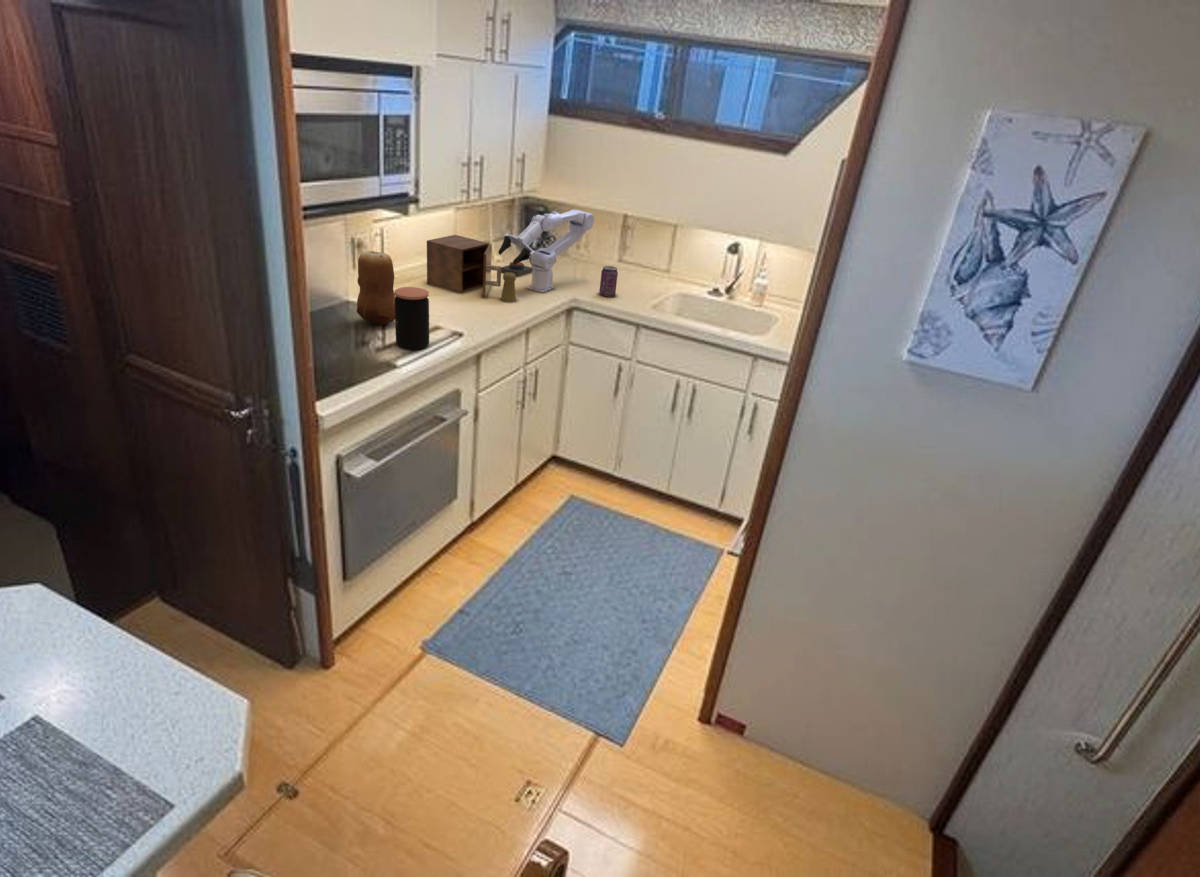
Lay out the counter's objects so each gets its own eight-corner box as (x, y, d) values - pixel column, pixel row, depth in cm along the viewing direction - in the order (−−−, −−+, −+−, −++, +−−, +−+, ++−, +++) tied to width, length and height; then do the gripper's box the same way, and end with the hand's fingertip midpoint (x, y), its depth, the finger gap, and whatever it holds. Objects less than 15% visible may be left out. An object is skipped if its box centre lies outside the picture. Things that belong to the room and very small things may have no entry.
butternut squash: (391, 315, 250) (389, 246, 239) (404, 328, 241) (402, 256, 229) (352, 319, 243) (348, 247, 231) (364, 331, 233) (360, 258, 222)
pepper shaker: (513, 302, 278) (514, 275, 273) (498, 300, 279) (500, 273, 274) (517, 298, 284) (519, 272, 278) (503, 296, 284) (504, 270, 279)
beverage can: (605, 291, 308) (608, 264, 302) (618, 295, 304) (621, 268, 299) (595, 294, 302) (598, 267, 297) (609, 298, 299) (612, 271, 293)
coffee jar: (407, 337, 234) (405, 284, 225) (435, 343, 231) (435, 290, 223) (389, 346, 224) (387, 292, 216) (418, 353, 222) (417, 299, 214)
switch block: (514, 267, 326) (515, 259, 324) (532, 272, 322) (533, 263, 320) (499, 272, 317) (500, 263, 315) (517, 277, 313) (518, 268, 311)
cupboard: (487, 285, 296) (489, 243, 288) (461, 293, 282) (461, 249, 274) (454, 276, 303) (455, 234, 295) (427, 283, 289) (426, 240, 281)
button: (515, 263, 320) (515, 259, 319) (522, 264, 319) (522, 261, 318) (511, 264, 317) (511, 260, 316) (517, 266, 316) (517, 262, 315)
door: (504, 286, 297) (505, 245, 288) (499, 299, 281) (501, 255, 272) (488, 285, 296) (489, 243, 288) (482, 297, 280) (483, 254, 272)
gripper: (513, 221, 280) (491, 242, 276) (541, 239, 278) (520, 261, 273) (514, 232, 287) (493, 253, 282) (541, 250, 284) (520, 272, 280)
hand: (506, 257), depth 278 cm, fingers open, 7 cm apart
